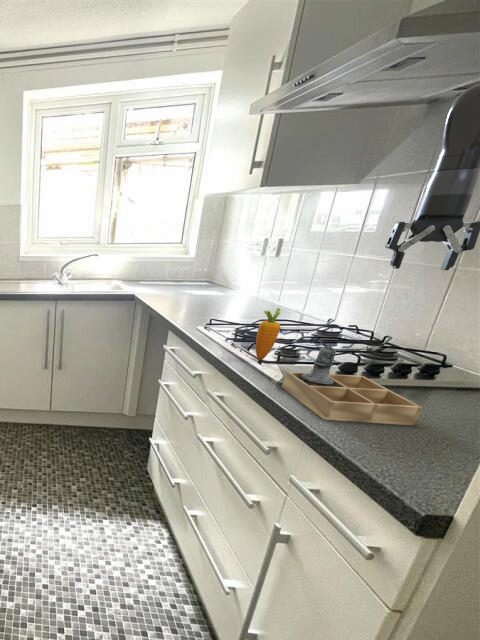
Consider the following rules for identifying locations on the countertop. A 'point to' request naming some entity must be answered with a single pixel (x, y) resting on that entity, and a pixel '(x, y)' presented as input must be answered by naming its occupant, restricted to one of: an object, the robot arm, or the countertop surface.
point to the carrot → (267, 334)
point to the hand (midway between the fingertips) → (419, 269)
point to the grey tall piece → (321, 368)
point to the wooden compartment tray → (352, 400)
